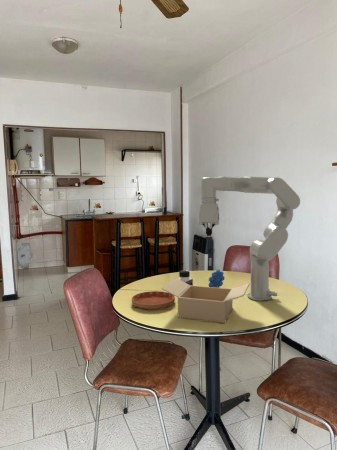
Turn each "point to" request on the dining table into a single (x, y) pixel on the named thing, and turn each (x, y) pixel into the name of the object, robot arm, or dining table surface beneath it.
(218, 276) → the grapes
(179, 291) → the far flap
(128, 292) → the dining table surface
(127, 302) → the dining table surface
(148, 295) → the saucer
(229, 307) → the carton
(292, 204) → the robot arm
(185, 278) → the medicine bottle
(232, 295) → the near flap
